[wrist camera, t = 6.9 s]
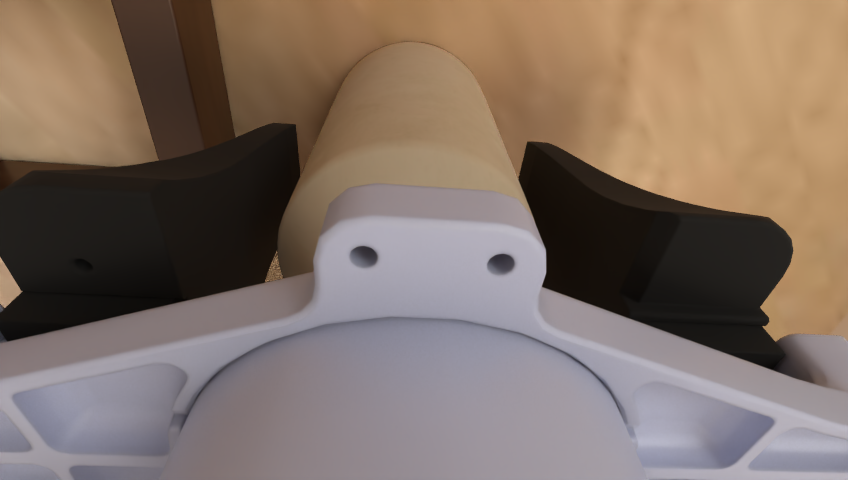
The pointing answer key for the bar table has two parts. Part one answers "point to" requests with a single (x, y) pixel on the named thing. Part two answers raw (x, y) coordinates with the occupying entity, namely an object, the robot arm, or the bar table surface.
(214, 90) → the holder
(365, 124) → the candle
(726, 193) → the bar table surface
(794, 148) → the bar table surface
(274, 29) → the bar table surface
